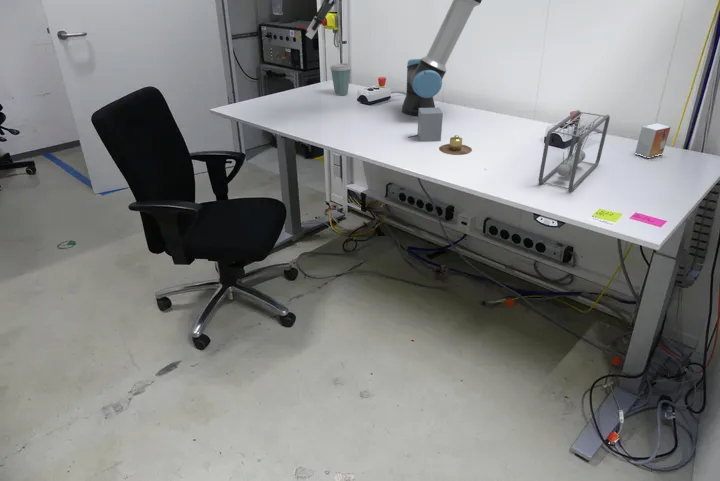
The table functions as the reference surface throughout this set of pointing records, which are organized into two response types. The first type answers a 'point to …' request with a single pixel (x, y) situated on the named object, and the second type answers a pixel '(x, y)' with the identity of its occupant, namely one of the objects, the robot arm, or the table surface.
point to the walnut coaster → (463, 151)
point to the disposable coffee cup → (341, 78)
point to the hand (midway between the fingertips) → (308, 34)
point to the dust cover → (429, 124)
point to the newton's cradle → (579, 155)
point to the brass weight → (455, 143)
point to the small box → (652, 139)
